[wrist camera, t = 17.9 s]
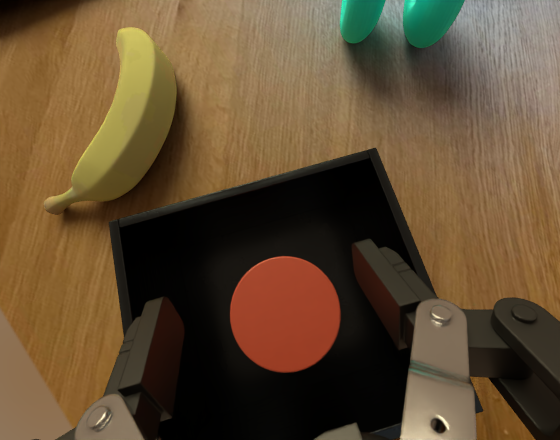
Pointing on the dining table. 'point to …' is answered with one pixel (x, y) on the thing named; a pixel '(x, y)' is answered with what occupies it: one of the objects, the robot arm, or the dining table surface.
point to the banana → (126, 125)
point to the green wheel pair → (416, 19)
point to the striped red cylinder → (285, 314)
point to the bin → (229, 271)
